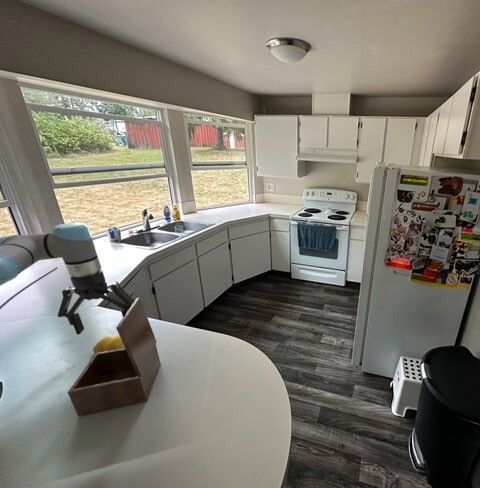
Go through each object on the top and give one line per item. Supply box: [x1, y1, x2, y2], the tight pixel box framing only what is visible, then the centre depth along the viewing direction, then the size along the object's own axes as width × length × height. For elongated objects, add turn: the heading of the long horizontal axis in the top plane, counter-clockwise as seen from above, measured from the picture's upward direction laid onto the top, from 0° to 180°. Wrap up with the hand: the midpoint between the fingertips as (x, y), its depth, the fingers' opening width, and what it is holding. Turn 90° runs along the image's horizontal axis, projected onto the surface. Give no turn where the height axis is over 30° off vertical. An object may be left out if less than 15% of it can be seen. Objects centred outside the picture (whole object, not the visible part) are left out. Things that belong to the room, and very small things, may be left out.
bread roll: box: [92, 334, 125, 354], centre depth 88 cm, size 8×9×4 cm
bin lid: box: [115, 297, 158, 377], centre depth 70 cm, size 17×14×1 cm
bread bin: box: [67, 343, 162, 418], centre depth 72 cm, size 16×14×9 cm
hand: (105, 328), depth 85 cm, fingers open, 13 cm apart
